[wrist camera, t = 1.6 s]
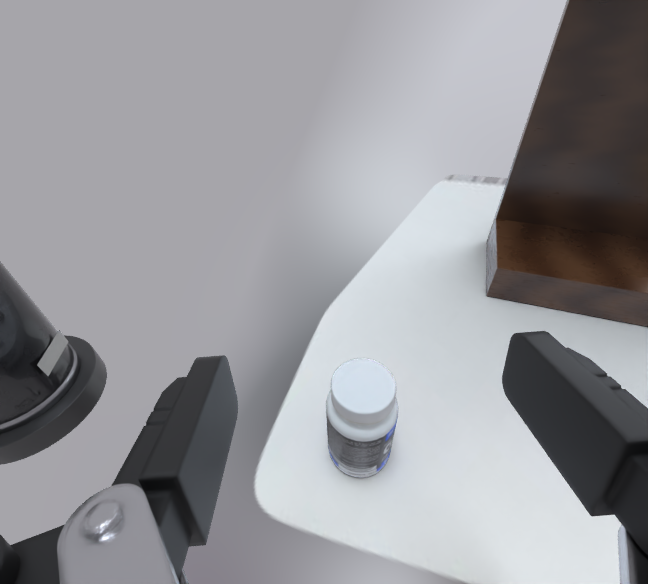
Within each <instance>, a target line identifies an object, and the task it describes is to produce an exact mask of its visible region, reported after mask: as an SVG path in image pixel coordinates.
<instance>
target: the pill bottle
mask: <svg viewBox="0 0 648 584" xmlns="http://www.w3.org/2000/svg"><path fill="white" fill-rule="evenodd" d="M326 413H327V435H328V448H329V453H330V456H331V458H332V460H333V462H334V464H335V465H336V466H337V467H338V468H339V469H340V470H341V471H342V472H344V473H345V474H348V475H350V476H354V477H369V476H372V475H374V474H376V473H377V472H379V471H380V470H381V469H382V468H383V467H384V465H385V464H386V462H387V460H388V458H389V455H390V451H391V445H392V440H393V436H394V431H395V427H396V422H397V417H398V403H397V399H396V382H395V379H394V377H393V375H392V373H391V372H390V371H389V370H388V369H387V368H386V367H385V366H384V365H383V364H381V363H379V362H377V361H374V360H371V359H366V358H358V359H353V360H349V361H347V362H345V363H343V364H342V365H340V366H339V367H338V368H337V370H336V371H335V372H334V374H333V377H332V380H331V390H330V392H329V394H328V397H327V401H326Z"/></svg>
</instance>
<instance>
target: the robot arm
mask: <svg viewBox="0 0 648 584" xmlns="http://www.w3.org/2000/svg"><path fill="white" fill-rule="evenodd" d="M68 342H69V341H68V340H67V339H66V338H65V336H64V335H63V334H62V333H61V332H60V330H59V331H57V330H56V329H55V327H54V326H53V325H52V324H51V322H50V321H49V320H48V319H47V317H46V316H45V315H44V314H43V313H42V312H41V310H40V309H39V308H38V307H37V305H35V303H34V302H33V301H32V300H31V298H30V297H29V296H28V295H27V293H26V292H25V291H24V290H23V289H22V287H21V286H20V285H19V284H18V283H17V281H16V280H15V279H14V278H13V276H12V275H11V274H10V273H9V272H8V270H7V269H6V268H5V267H4V266H3V264H2V263H1V262H0V433H4V432H7V431H10V430H13V429H15V428H18V427H20V426H22V425H24V424H26V423H28V422H30V421H32V420H34V419H35V418H37V417H38V416H40V415H42V414H43V413H44V412H46V411H47V410H49V409H50V408H51V407H52V406H53V405H55V404H56V403H57V402H58V401H59V400H60V399H61V398H62V397H63V396H64V395H65V394H66V393H67V392H68V390H69V389H70V388H71V386H72V385H73V383H74V382H75V380H76V378H77V376H78V373H79V370H80V358H79V355H78V354H77V352H76V351H75V350H74V349H73V347H72V346H71V345H70V344H69V343H68ZM502 383H503V389H504V392H505V394H506V396H507V398H508V400H509V401H510V403H511V404H512V405H513V407H514V408H515V410H516V411H517V412H518V414H519V415H520V417H521V418H522V419H523V421H524V422H525V424H526V425H527V426H528V428H529V429H530V431H531V432H532V434H533V435H534V436H535V438H536V439H537V441H538V442H539V443H540V445H541V446H542V448H543V449H544V450H545V452H546V453H547V455H548V456H549V458H550V459H551V460H552V462H553V463H554V465H555V466H556V467H557V469H558V470H559V472H560V473H561V474H562V476H563V477H564V479H565V480H566V481H567V483H568V484H569V486H570V487H571V489H572V490H573V491H574V493H575V494H576V496H577V497H578V498H579V500H580V501H581V503H582V504H583V505H584V507H585V508H586V510H587V511H588V512H589V514H590V515H591V516H601V515H614V514H615V516H616V517H617V518H618V520H619V521H620V522H621V524H622V525H621V527H620V528H619V531H618V548H619V569H620V584H648V408H646V407H645V406H644V405H643V404H642V403H641V402H639V401H638V400H637V399H636V398H635V397H634V396H632V395H631V394H630V393H629V392H628V391H627V390H625V389H622V388H621V385H619V384H618V383H617V382H616V381H615V380H614V379H612V378H611V377H608V376H607V373H605V372H604V371H603V370H602V369H601V368H600V367H598V366H597V365H596V364H595V363H594V362H593V361H591V360H590V359H589V358H587V357H585V356H583V355H581V354H579V353H577V352H575V351H573V350H571V349H570V348H565V347H564V346H563V345H562V344H560V343H559V342H558V341H557V340H556V339H555V338H554V337H553V336H551V335H550V334H549V333H548V332H545V331H537V332H525V333H515V334H514V335H513V336H512V337H511V340H510V344H509V348H508V353H507V357H506V362H505V366H504V371H503V376H502ZM237 413H238V401H237V395H236V391H235V387H234V383H233V379H232V375H231V371H230V367H229V363H228V360H227V358H226V356H211V357H199V358H196V360H195V361H194V363H193V365H192V367H191V370H190V372H189V373H188V375H187V377H182V378H177V379H176V380H175V381H174V382H173V383H172V384H171V385H170V386H168V387H167V388H166V389H165V390H164V391H163V392H162V394H161V396H160V398H159V400H158V402H157V403H156V405H155V407H154V411H153V412H151V414H150V416H149V418H148V420H147V422H146V426H144V427H143V429H142V431H141V433H140V435H139V436H138V438H137V440H136V442H135V444H134V446H133V447H132V449H131V451H130V453H129V455H128V457H127V458H126V460H125V462H124V464H123V466H122V468H121V470H120V471H119V473H118V475H117V477H116V479H115V481H114V483H113V484H112V486H111V487H109V488H106V489H104V490H102V491H100V492H98V493H96V494H95V495H93V496H92V497H90V498H89V499H88V500H86V501H85V502H84V503H83V504H82V505H81V506H80V507H79V508H77V510H76V511H75V512H74V513H73V514H72V515H71V517H70V518H69V519H68V521H67V522H66V524H65V525H62V526H60V527H57V528H55V529H52V530H50V531H47V532H45V533H42V534H39V535H36V536H34V537H31V538H29V539H26V540H23V541H21V542H18V543H15V544H13V545H9V544H8V543H7V542H6V541H5V539H4V538H3V537H2V536H1V535H0V584H189V583H188V581H187V578H186V575H185V573H184V570H183V565H184V561H185V557H186V554H187V551H188V547H189V546H199V545H206V542H207V538H208V534H209V529H210V526H211V522H212V518H213V513H214V510H215V505H216V501H217V497H218V493H219V489H220V485H221V481H222V477H223V473H224V468H225V464H226V461H227V456H228V452H229V448H230V444H231V440H232V436H233V432H234V428H235V424H236V420H237Z"/></svg>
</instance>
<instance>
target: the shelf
mask: <svg viewBox="0 0 648 584" xmlns="http://www.w3.org/2000/svg"><path fill="white" fill-rule="evenodd" d="M486 295H487V296H490V297H495V298H500V299H505V300H511V301H516V302H521V303H526V304H532V305H537V306H542V307H547V308H552V309H558V310H563V311H568V312H573V313H579V314H584V315H589V316H594V317H600V318H605V319H610V320H615V321H621V322H626V323H631V324H636V325H641V326H647V327H648V0H567V2H566V5H565V8H564V11H563V14H562V17H561V20H560V23H559V26H558V29H557V32H556V35H555V38H554V41H553V44H552V47H551V50H550V53H549V56H548V59H547V62H546V65H545V68H544V71H543V74H542V77H541V80H540V83H539V86H538V89H537V92H536V95H535V98H534V101H533V104H532V107H531V110H530V113H529V117H528V119H527V123H526V125H525V128H524V131H523V134H522V137H521V140H520V143H519V146H518V149H517V152H516V155H515V158H514V161H513V164H512V167H511V170H510V173H509V176H508V179H507V182H506V185H505V188H504V191H503V194H502V197H501V200H500V203H499V206H498V209H497V212H496V215H495V218H494V221H493V224H492V227H491V230H490V233H489V236H488V239H487V292H486Z"/></svg>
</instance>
